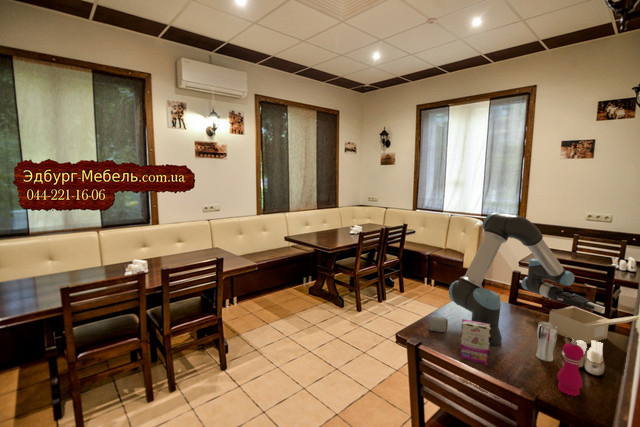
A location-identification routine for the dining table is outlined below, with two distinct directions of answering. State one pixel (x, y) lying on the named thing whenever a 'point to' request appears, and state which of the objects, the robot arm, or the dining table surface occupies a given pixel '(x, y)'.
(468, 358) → the candy bar box
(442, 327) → the grey rounded block
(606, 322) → the carton lid
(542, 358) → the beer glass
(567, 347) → the pepper mill
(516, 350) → the dining table surface
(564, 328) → the carton
